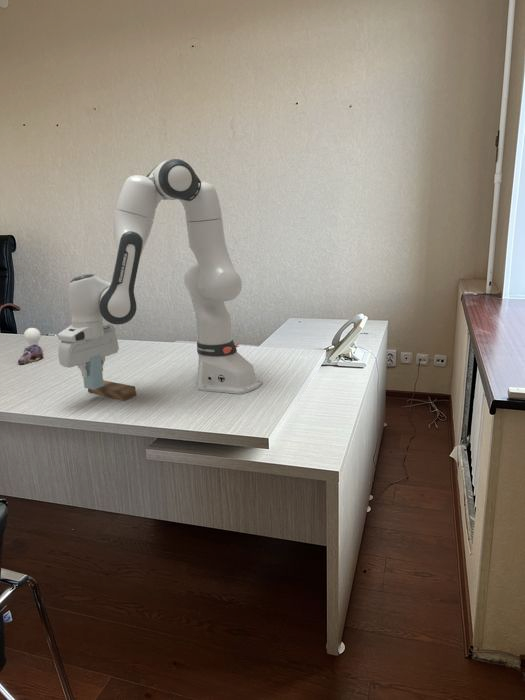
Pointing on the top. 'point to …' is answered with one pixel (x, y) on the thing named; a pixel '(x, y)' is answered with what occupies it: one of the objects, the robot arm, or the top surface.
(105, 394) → the rail
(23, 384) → the top surface
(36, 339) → the lightbulb
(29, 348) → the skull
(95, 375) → the block
